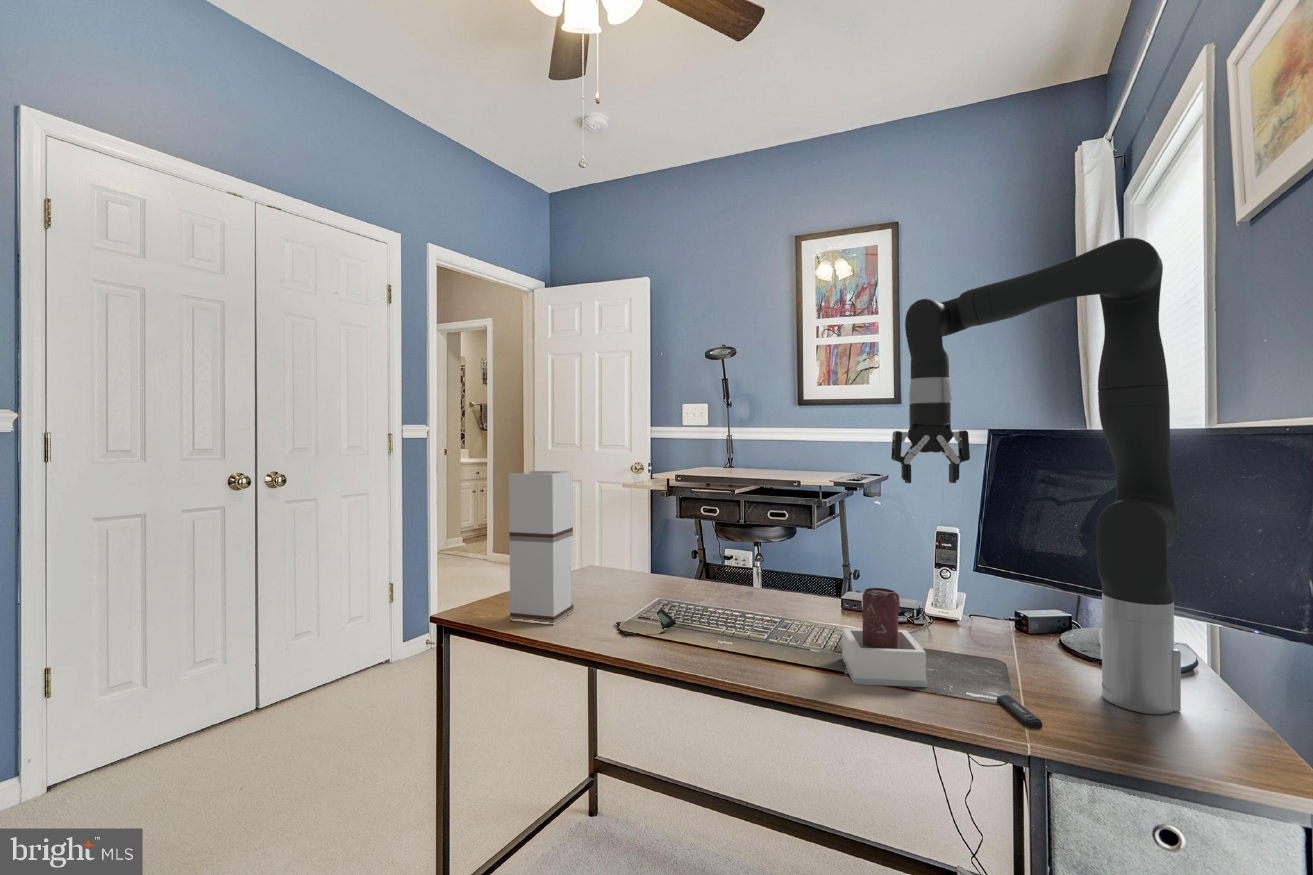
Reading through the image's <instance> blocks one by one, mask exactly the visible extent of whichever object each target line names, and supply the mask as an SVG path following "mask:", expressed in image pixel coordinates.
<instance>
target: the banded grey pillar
mask: <svg viewBox="0 0 1313 875" xmlns="http://www.w3.org/2000/svg"><path fill="white" fill-rule="evenodd" d="M573 492H574V491H573V471H571V470H570V471H568V470H567V471H566V470H565V471H564V470H563V471H562V470H560V471H559V470H529V473H516V472H515V473H514V472H513V473H508V513H509V514H508V516H509V517H508V520H509V521H508V522H509V524H508V527H509V528H508V529H509V534H508V535H509V537H508V538H509V539H508V540H509V611H510V612H509V617H510V618H512V619H523V620H534V621H539V622H549V623H555V622H557V621H558V620H560V619H562V618H563V617H565V616H566V615H568V614H569V613H571V612H572V611H574V604H573V603H572V542H574V535H573V534H574V529H573V528H574V527H573V526H574V523H573V522H574V520H573V519H574V518H573V517H574V512H573V510H574V507H573V498H574V497H573V495H574V493H573ZM510 618H509V619H510Z"/></svg>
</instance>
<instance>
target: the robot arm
mask: <svg viewBox="0 0 1313 875" xmlns="http://www.w3.org/2000/svg"><path fill="white" fill-rule="evenodd" d="M1163 270H1164V265H1163V261H1162V258H1161V256H1160V254H1159V253H1158V251H1157V249H1156V248H1155V247H1154V245H1152V243H1151V242H1148V241H1147V240H1145V239H1141V238H1139V237H1122V238H1118V239H1115V240H1112V241H1110V242H1107V243H1105V244H1102V245H1100V246H1097V247H1095V248H1093V249H1091V250H1088V251H1086V252H1084V253H1082V254H1080V255H1077V256H1075V257H1072V258H1070V259H1069V258H1068V259H1066V260H1064V261H1061V262H1059V263H1056V264H1053V265H1050V266H1048V267H1044V268H1042V269H1039V270H1035V271H1033V272H1030V273H1026V274H1022V275H1018V276H1015V277H1012V278H1008V279H1004V280H1001V281H998V282H997V281H996V282H994V283H989V284H986V285H985V284H984V285H983V286H978V287H975V288H971V289H968V290H966V291H964V292H962V293H960V295H959V296H958V297H955V298H952V299H949V300H945V301H939V302H938V301H936V300H933V299H930V298H922V299H917V300H916V301H915V302H913V303H912V304H911V305H910V306H909V308H908V309H907V311H906V314H905V320H904V327H905V328H904V329H905V335H906V340H907V341H906V342H907V347H908V351H909V354H910V384H909V395H908V396H909V399H908V400H909V404H908V405H909V408H908V409H909V411H908V412H909V428H908V431H900V430H895V431H893V432H892V438H891V439H892V440H891V457H890V458H891V460H892V461H895V462H897V463H899V464H900V465H901V479H902V481H904V484H912V464H910V463H911V462H912V460H914V458H915V457H916V456H918V454H919V453H923V454H924V453H942V455H943V456H944V457H945V458H946V459H947V460H948V461H949V463H948V482H949V483H951V484H957V481H959V480H960V465H961V463H963V462H967V461H969V460H970V459H971V452H970V442H969V441H970V440H969V439H970V438H969V437H970V436H969V432H968V430H965V429H964V430H963V429H962V430H958V431H953V430H952V429H951V428H952V427H951V425H952V424H951V420H952V419H951V416H952V415H951V414H952V413H951V411H952V410H951V408H952V407H951V406H952V404H951V401H952V394H951V393H952V392H951V391H952V390H951V385H950V357H949V353H948V351H947V350H946V349H945V347H944V344H943V343H944V342H943V338H944V337H947V336H950V335H953V334H956V333H959V332H961V331H965V330H966V329H970V328H972V327H977V326H982V325H987V324H991V323H996V322H1000V321H1004V320H1007V319H1012V318H1014V317H1018V316H1020V315H1023V314H1027V313H1029V312H1031V311H1034V310H1036V309H1039V308H1041V307H1044V306H1046V305H1050V304H1053V303H1057V302H1060V301H1063V300H1068V299H1073V298H1078V297H1086V296H1094V295H1099V299H1100V304H1101V305H1100V306H1101V310H1102V317H1103V326H1104V328H1103V329H1104V339H1103V346H1102V351H1101V355H1100V362H1099V368H1098V376H1097V377H1098V378H1097V399H1098V401H1097V402H1098V413H1099V421H1100V425H1101V429H1102V431H1103V435H1104V438H1105V440H1106V441H1105V442H1106V443H1107V446H1108V448H1109V451H1110V453H1111V456H1112V458H1113V463H1114V467H1115V476H1116V477H1115V478H1116V480H1115V481H1116V482H1115V483H1116V487H1115V501H1114V502H1112V503H1110V504H1109V505H1107V506H1106V507H1105V508H1104V509H1103V510H1102V511H1101V512H1100V514H1099V517H1098V518H1097V521H1096V522H1097V523H1096V536H1095V538H1096V542H1095V543H1096V561H1097V562H1096V563H1097V572H1098V573H1097V574H1098V576H1099V579H1100V582H1101V589H1102V590H1101V613H1102V614H1101V616H1102V617H1101V619H1102V620H1101V622H1102V623H1101V624H1102V625H1101V626H1102V627H1101V630H1102V631H1101V634H1102V636H1101V646H1102V647H1101V649H1102V650H1101V660H1102V661H1101V668H1102V669H1101V680H1102V681H1101V689H1102V690H1101V693H1102V697H1103V699H1105V701H1107V702H1108V703H1110V704H1112V705H1115V706H1117V707H1119V708H1123V709H1125V710H1128V711H1132V712H1137V713H1142V714H1149V715H1168V714H1171V713H1174V712H1181V711H1182V710H1181V709H1182V707H1181V705H1182V700H1181V697H1182V691H1181V690H1182V689H1181V687H1182V683H1181V682H1182V679H1181V678H1182V675H1181V674H1182V666H1181V665H1182V661H1181V660H1182V658H1181V657H1182V654H1181V651H1180V650H1179V649H1177V648H1175V587H1174V584H1173V583H1172V582H1171V580H1170V578H1169V572H1168V548H1169V547H1171V546H1172V545H1173V544H1174V543H1175V542H1176V540H1177V539H1178V535H1179V533H1180V519H1179V514H1178V513H1179V512H1178V509H1177V505H1176V500H1175V494H1174V489H1173V482H1172V477H1171V470H1170V469H1171V466H1170V454H1171V452H1170V451H1171V428H1170V427H1171V426H1170V425H1171V424H1170V416H1171V414H1170V412H1171V411H1170V410H1171V408H1170V390H1169V377H1168V371H1167V370H1168V369H1167V363H1166V357H1165V351H1164V346H1163V341H1162V336H1161V330H1160V302H1161V301H1160V299H1161V291H1162V290H1161V288H1162V280H1163V279H1162V278H1163ZM906 438H907V439H908V440H909V441H910V443H911V444H910V446H909V447H908V448H907V449H906V451H905V453H904V455H902V443H904V442H905V441H906ZM953 438H954V441H955V442H957V446H958V447H957V448H958V449H957V450H958V455H957V454H956V452H955V451H954V449H953V448H952V446H950V444H949V443H950V442H951V441H952V439H953Z"/></svg>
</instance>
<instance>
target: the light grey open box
mask: <svg viewBox="0 0 1313 875" xmlns="http://www.w3.org/2000/svg"><path fill="white" fill-rule="evenodd" d="M841 632H842V634H841V635H842V639H841V640H842V653H841V654H842V657H843V660H844V662H845V665H846V667H845V669H846V668H847V669H846V671H847V674H848V675H849V677H850V680H851V682H852V683H853V685H864V686H888V687H910V688H911V687H913V688H914V687H916V688H928V680H927V664H926V663H927V652H926V651H925V650H924V649H923V647H922V646H921V645H920V644H919V643H918V642H917V640H915V638H914V637H913V636H912V635H911V634H910V633H909V631H908V630H907V629H906V630H905V629H898V649H882V648H863V628H849V627H847V628H845V627H844V628H843V627H842V631H841ZM845 665H844V666H845Z"/></svg>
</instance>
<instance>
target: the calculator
mask: <svg viewBox="0 0 1313 875" xmlns="http://www.w3.org/2000/svg"><path fill="white" fill-rule="evenodd" d="M655 613H657V615H658V617H659V619H660V620H661V621H660V622H661V626H662V629H664V628H669V629H670V628H672V627H673V626H675V625H676V624H677V621H676V620H675V619H674V618H673V616H671V615H670V614H669V613H668V612H666V611H665V610H664V609H663V608H661V609H659V610H658V611H657V612H655ZM621 622H622V621H616V622H615V625H616V624H617V625H618V626H620V624H621ZM617 625H616V626H617ZM623 632H624V634H623V635H624V636H634V635H637V634H639V633H633V632H626V631H623ZM634 637H635V636H634Z"/></svg>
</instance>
